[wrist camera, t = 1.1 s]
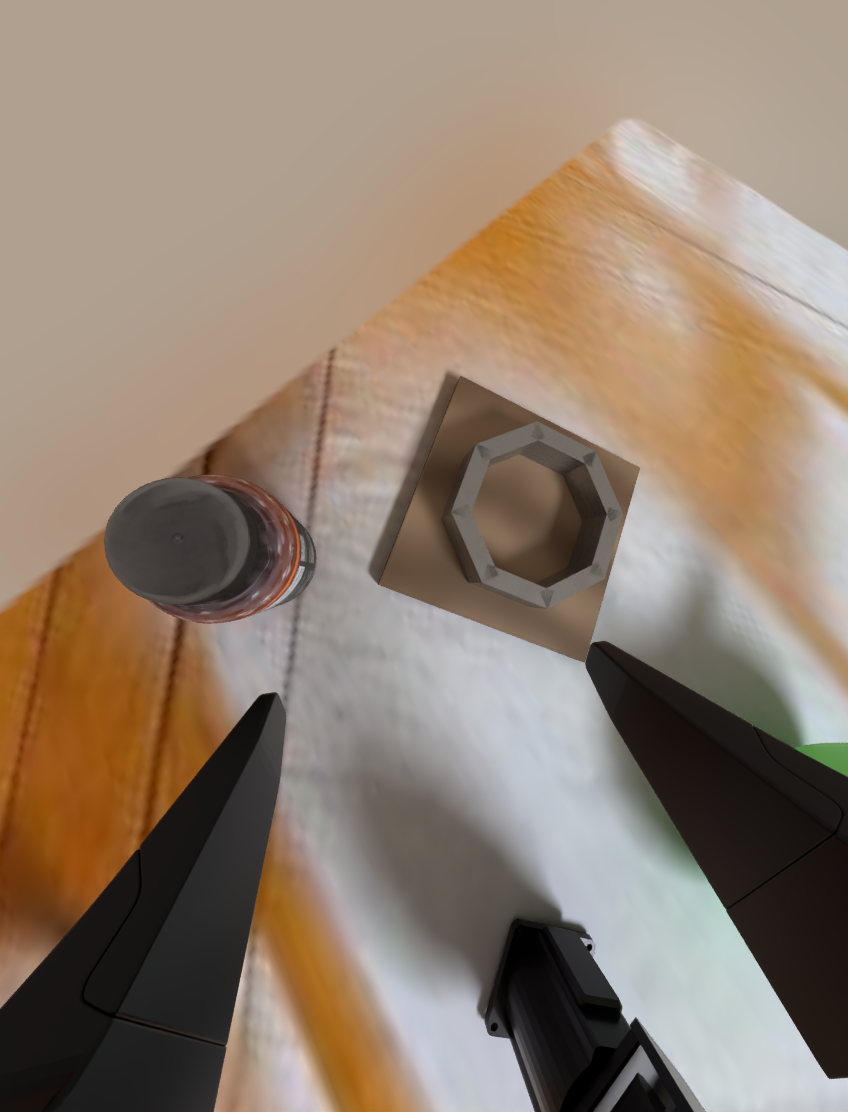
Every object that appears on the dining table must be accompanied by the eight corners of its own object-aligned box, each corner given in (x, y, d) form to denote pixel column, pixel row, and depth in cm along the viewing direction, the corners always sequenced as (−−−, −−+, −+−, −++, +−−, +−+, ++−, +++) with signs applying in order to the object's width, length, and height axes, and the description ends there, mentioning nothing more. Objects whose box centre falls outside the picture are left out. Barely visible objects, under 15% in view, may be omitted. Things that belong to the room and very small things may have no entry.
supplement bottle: (197, 547, 20) (9, 505, 9) (284, 497, 22) (210, 407, 10) (254, 626, 21) (138, 677, 10) (336, 572, 22) (317, 563, 11)
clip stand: (575, 659, 25) (584, 662, 24) (378, 584, 22) (379, 584, 21) (629, 471, 27) (640, 467, 26) (456, 384, 25) (460, 375, 24)
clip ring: (567, 622, 24) (591, 626, 21) (423, 564, 22) (431, 562, 20) (609, 481, 26) (635, 471, 23) (478, 417, 24) (492, 398, 21)
